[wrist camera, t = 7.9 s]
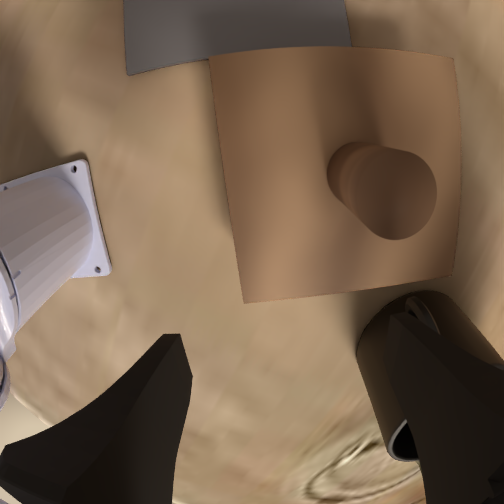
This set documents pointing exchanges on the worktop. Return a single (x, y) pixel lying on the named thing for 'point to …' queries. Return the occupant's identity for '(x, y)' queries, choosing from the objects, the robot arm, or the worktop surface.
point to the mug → (374, 372)
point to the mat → (225, 28)
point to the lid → (338, 167)
